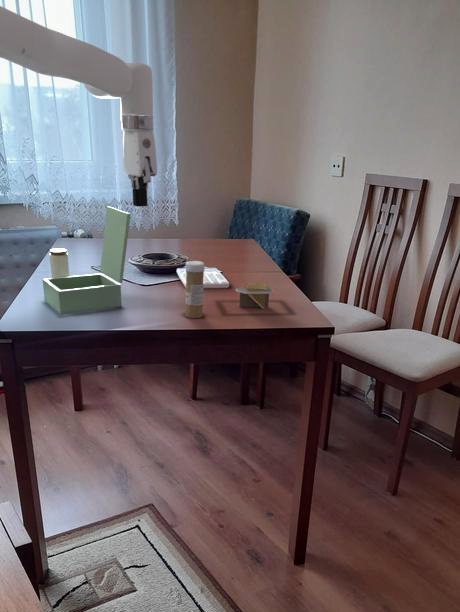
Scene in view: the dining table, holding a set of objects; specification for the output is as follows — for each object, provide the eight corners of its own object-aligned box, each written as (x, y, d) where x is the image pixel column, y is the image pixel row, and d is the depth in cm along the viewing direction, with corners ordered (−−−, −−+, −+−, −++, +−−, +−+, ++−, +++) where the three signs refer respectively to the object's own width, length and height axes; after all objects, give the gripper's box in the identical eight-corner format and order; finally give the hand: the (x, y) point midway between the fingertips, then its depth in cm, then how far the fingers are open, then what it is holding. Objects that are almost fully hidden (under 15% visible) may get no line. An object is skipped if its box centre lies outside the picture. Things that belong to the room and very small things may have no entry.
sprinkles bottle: (184, 313, 141) (184, 260, 135) (202, 313, 142) (203, 260, 136) (186, 319, 137) (186, 264, 131) (204, 318, 138) (205, 264, 132)
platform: (292, 314, 144) (295, 290, 141) (225, 315, 141) (226, 290, 138) (280, 301, 155) (283, 278, 152) (217, 302, 152) (218, 278, 149)
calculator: (185, 289, 162) (185, 282, 161) (175, 272, 179) (175, 266, 178) (230, 288, 165) (230, 282, 164) (216, 272, 182) (216, 266, 181)
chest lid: (127, 213, 132) (130, 213, 133) (106, 206, 142) (110, 206, 142) (119, 282, 138) (122, 283, 139) (100, 271, 148) (103, 271, 148)
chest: (60, 317, 134) (58, 291, 131) (45, 303, 143) (42, 278, 140) (121, 309, 142) (120, 284, 139) (103, 296, 151) (101, 273, 148)
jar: (56, 293, 152) (52, 252, 147) (50, 288, 156) (46, 249, 151) (73, 291, 155) (69, 251, 149) (67, 287, 158) (64, 247, 153)
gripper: (166, 125, 128) (167, 209, 136) (138, 124, 139) (141, 201, 147) (136, 124, 124) (139, 210, 133) (110, 123, 135) (114, 202, 144)
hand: (140, 205), depth 140 cm, fingers closed
